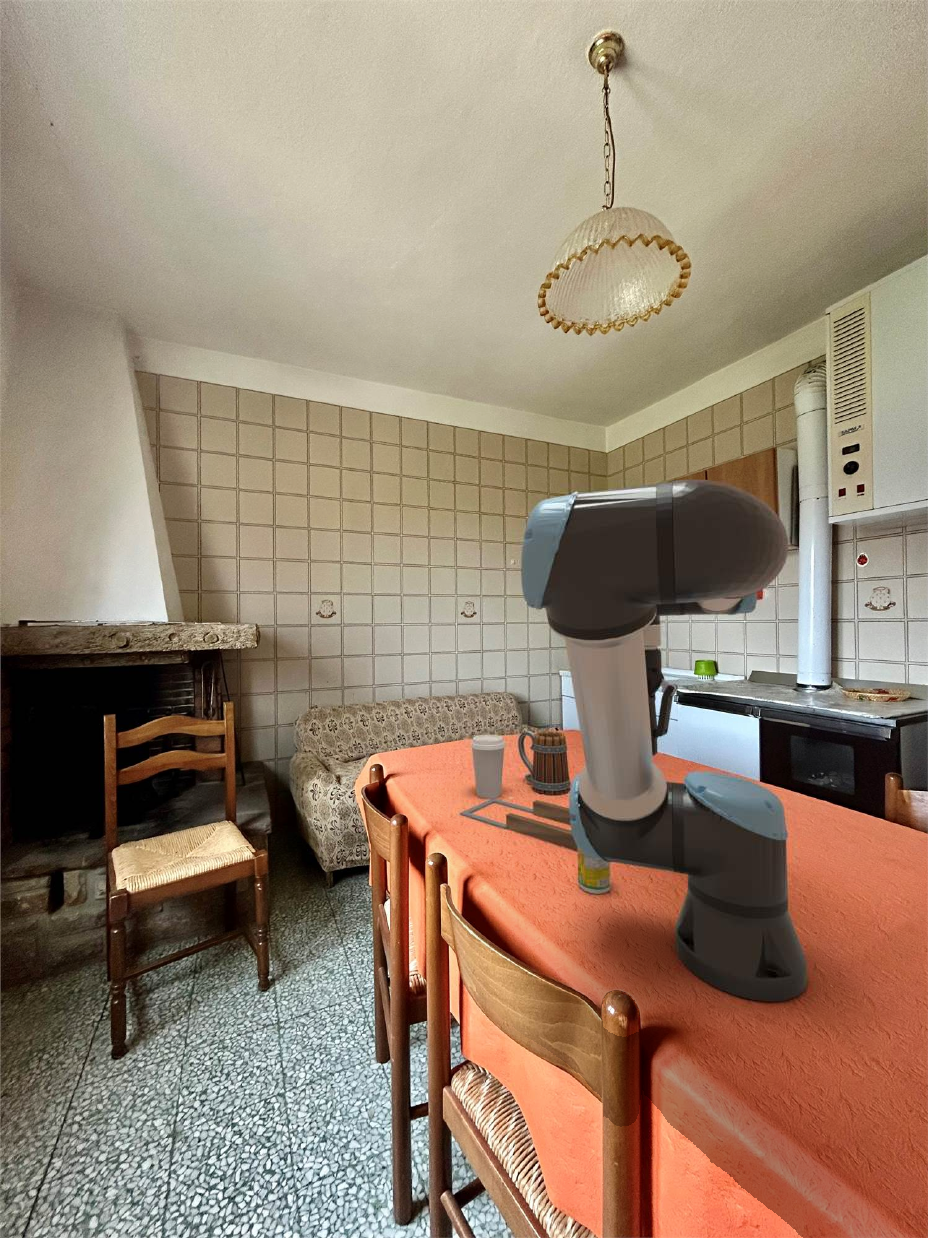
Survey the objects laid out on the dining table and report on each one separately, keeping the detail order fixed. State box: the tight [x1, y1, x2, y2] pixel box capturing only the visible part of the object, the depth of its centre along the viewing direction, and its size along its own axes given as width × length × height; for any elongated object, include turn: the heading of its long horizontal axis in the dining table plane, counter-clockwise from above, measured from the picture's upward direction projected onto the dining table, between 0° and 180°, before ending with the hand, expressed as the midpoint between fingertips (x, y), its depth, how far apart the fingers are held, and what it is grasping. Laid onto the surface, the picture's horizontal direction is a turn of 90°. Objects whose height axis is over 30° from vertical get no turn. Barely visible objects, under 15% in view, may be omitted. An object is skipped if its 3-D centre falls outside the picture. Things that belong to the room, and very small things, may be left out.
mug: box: [517, 730, 571, 796], centre depth 136 cm, size 16×11×15 cm
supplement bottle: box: [577, 848, 612, 895], centre depth 84 cm, size 5×5×10 cm
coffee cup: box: [469, 734, 507, 800], centre depth 131 cm, size 10×10×15 cm
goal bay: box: [459, 798, 533, 830], centre depth 118 cm, size 13×14×1 cm
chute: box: [505, 799, 578, 852], centre depth 106 cm, size 12×22×3 cm, turn 48°
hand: (643, 770), depth 95 cm, fingers closed
